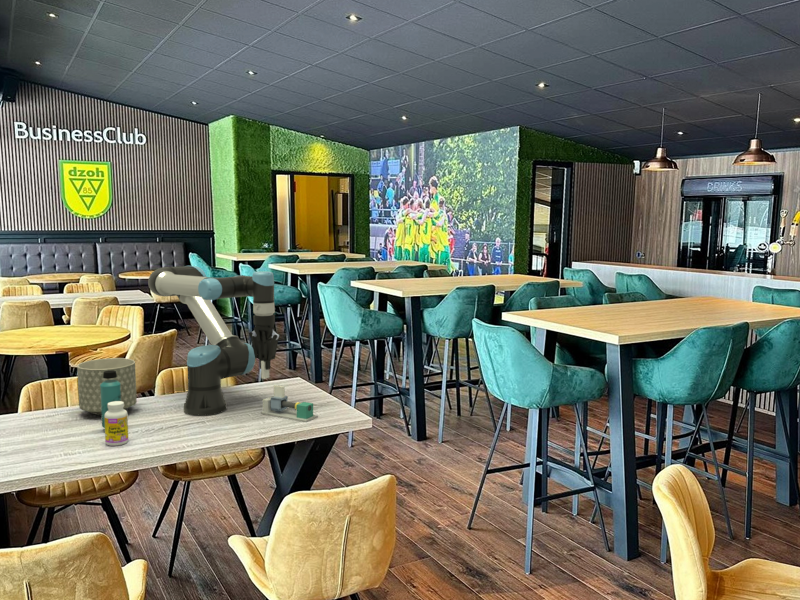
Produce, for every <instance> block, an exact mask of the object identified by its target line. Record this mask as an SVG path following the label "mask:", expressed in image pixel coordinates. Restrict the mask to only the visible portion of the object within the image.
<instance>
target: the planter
mask: <svg viewBox="0 0 800 600" xmlns="http://www.w3.org/2000/svg"><path fill="white" fill-rule="evenodd" d="M76 366H77V385H78V389H77V390H78V407H79V409H80V410H82V411H84V412H88V413H90V414H92V415H96V416H102V413H101V388H100V385H101V384H102V383H103V382H104V381H106V380H117V381H118V382H120V384H121V385H120V389H121V401H122V402H124V407H123V409H124V410H126V411H127V409H129V408H131V407H133V406H135V405H136V404H137V381H136V380H137V377H136V361H135V360H134V359H130V358H124V357H114V358H113V357H112V358H110V357H108V358H97V359H90V360H86V361H83V362H80V363H78V364H77V365H76ZM109 370H114V371H116V374H117V377H116V378H111V379H105V378H103V373H104V372H105V371H109Z"/></svg>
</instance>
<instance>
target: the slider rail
mask: <svg viewBox="0 0 800 600" xmlns="http://www.w3.org/2000/svg"><path fill="white" fill-rule="evenodd" d="M271 397H274V395H273V396H269V397H266V398H264V399H262V411H261V412H260V414H261V415H265V416H271V417H276V418H283V419H288V420H292V421H296V422H301V423H302V422H303V423H308V422H310V421H312V420H314V418H315V419H317V418H318V417H319V416H318V415H316V414H314V403H312V402H306V401H303V402H299V401H297V402H293V401H292V402H291V401H288V402H287V401H281V406H283V407H288V408H289V409H285V410H282V411H274V410H271ZM290 409H295V411H294V410H290ZM316 417H317V418H316Z"/></svg>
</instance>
